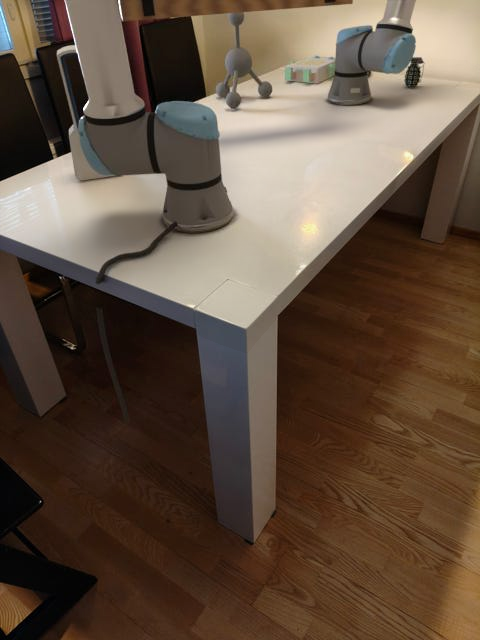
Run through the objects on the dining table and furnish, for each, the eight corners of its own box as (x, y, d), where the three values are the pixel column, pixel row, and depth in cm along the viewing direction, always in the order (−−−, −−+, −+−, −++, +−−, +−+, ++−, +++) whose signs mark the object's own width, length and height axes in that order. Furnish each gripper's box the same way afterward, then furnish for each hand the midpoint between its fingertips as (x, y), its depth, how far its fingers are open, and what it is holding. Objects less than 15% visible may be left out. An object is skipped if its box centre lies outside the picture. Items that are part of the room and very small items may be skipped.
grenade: (402, 88, 186) (407, 59, 180) (402, 85, 191) (406, 56, 185) (420, 88, 185) (425, 59, 179) (420, 85, 189) (424, 56, 183)
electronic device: (76, 181, 127) (42, 52, 109) (76, 171, 133) (43, 47, 115) (124, 174, 130) (98, 47, 111) (122, 165, 135) (97, 42, 117)
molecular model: (285, 103, 178) (286, 6, 160) (229, 112, 172) (223, 12, 154) (260, 90, 196) (258, 1, 177) (208, 97, 190) (200, 6, 171)
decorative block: (306, 53, 217) (348, 56, 208) (306, 69, 221) (346, 73, 212) (276, 65, 201) (319, 68, 192) (276, 82, 205) (318, 86, 196)
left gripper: (152, -109, 101) (167, 17, 115) (144, -100, 118) (158, 8, 132) (116, -108, 100) (135, 19, 114) (112, -99, 117) (130, 10, 131)
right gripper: (361, -116, 109) (353, 2, 122) (324, -108, 126) (320, -4, 140) (330, -115, 107) (325, 5, 121) (296, -106, 125) (295, -2, 138)
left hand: (147, 13), depth 123 cm, fingers closed on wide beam, 10 cm apart
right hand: (322, 0), depth 130 cm, fingers closed on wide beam, 10 cm apart
